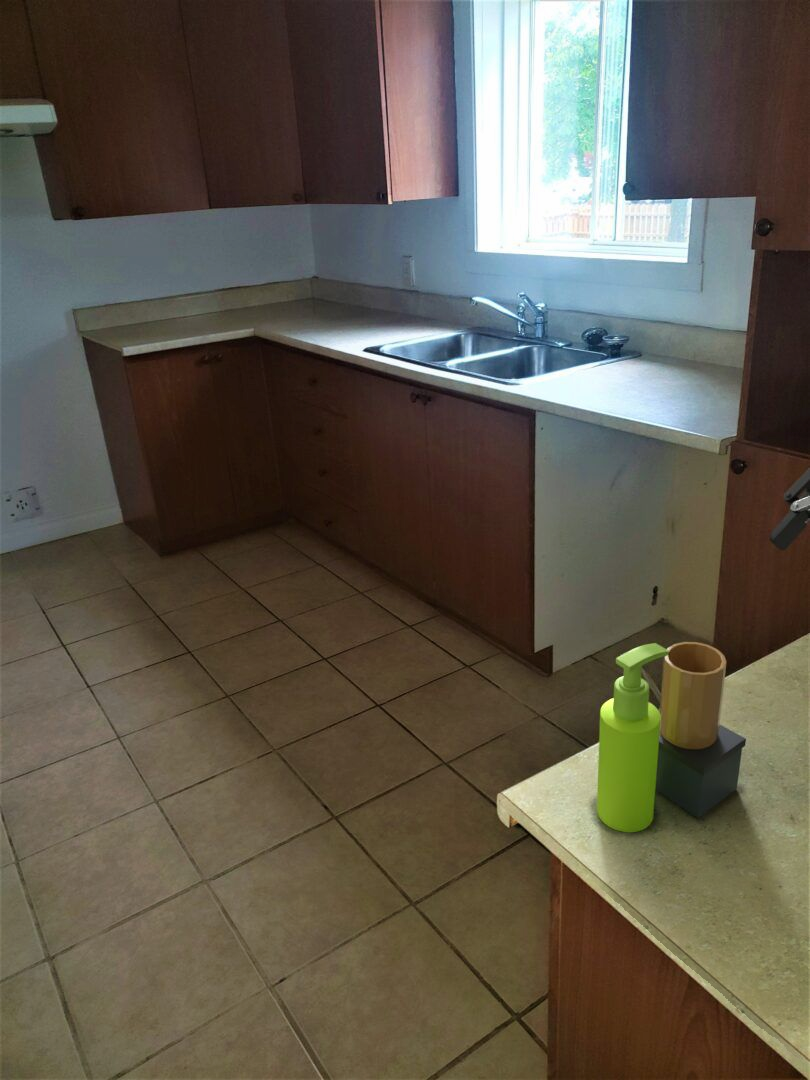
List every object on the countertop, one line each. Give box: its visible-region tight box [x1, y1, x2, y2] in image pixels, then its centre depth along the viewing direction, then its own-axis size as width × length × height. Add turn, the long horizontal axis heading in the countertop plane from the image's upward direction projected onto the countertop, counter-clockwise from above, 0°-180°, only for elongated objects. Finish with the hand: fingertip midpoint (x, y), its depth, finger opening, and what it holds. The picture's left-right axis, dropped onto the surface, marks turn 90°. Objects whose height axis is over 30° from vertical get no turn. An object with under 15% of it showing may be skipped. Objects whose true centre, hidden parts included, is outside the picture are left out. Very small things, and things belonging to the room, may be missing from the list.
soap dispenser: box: [596, 642, 670, 833], centre depth 84 cm, size 6×7×20 cm
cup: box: [659, 641, 727, 749], centre depth 86 cm, size 6×6×10 cm
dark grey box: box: [655, 708, 747, 819], centre depth 90 cm, size 9×7×7 cm
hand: (803, 562), depth 83 cm, fingers open, 8 cm apart
